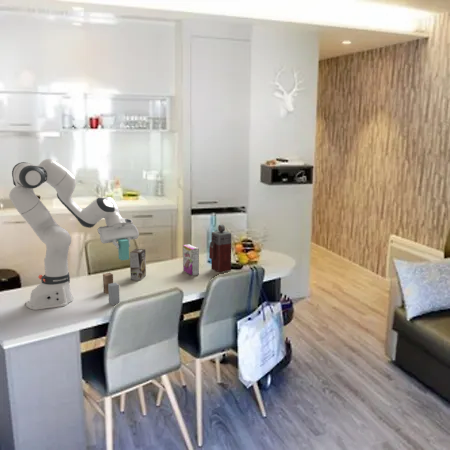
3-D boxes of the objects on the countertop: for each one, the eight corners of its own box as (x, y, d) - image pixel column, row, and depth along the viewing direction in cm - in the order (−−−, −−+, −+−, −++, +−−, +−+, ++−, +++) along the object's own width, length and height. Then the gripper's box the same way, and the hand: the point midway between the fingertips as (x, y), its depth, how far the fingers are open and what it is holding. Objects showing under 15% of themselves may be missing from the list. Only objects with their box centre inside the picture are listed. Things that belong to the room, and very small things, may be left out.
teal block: (121, 260, 261) (121, 241, 259) (118, 258, 264) (118, 239, 262) (129, 259, 263) (128, 240, 261) (125, 257, 266) (125, 238, 264)
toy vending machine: (207, 269, 315) (208, 224, 309) (223, 266, 321) (223, 222, 315) (215, 273, 307) (215, 227, 301) (231, 270, 313) (231, 225, 307)
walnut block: (106, 293, 270) (105, 275, 268) (103, 291, 273) (102, 273, 271) (113, 292, 272) (112, 274, 270) (110, 290, 276) (110, 272, 274)
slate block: (112, 305, 254) (111, 286, 252) (108, 302, 258) (108, 283, 255) (119, 303, 257) (118, 284, 254) (116, 301, 260) (115, 282, 258)
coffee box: (140, 280, 293) (140, 253, 289) (130, 279, 294) (129, 252, 290) (146, 275, 301) (145, 249, 298) (136, 274, 303) (135, 248, 299)
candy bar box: (182, 271, 310) (182, 244, 307) (189, 269, 313) (189, 243, 310) (192, 276, 301) (191, 249, 298) (199, 274, 304) (199, 247, 300)
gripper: (97, 223, 259) (106, 246, 254) (135, 219, 271) (143, 241, 265) (95, 230, 264) (103, 253, 258) (131, 226, 275) (140, 247, 269)
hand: (124, 247), depth 262 cm, fingers closed on teal block, 4 cm apart
